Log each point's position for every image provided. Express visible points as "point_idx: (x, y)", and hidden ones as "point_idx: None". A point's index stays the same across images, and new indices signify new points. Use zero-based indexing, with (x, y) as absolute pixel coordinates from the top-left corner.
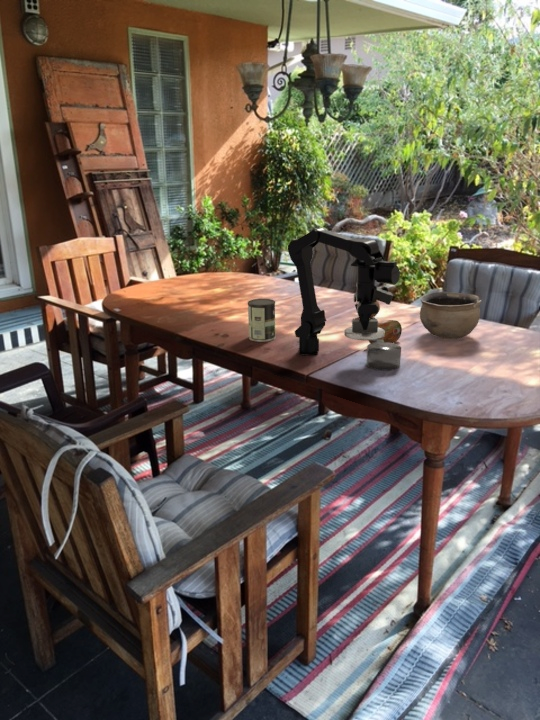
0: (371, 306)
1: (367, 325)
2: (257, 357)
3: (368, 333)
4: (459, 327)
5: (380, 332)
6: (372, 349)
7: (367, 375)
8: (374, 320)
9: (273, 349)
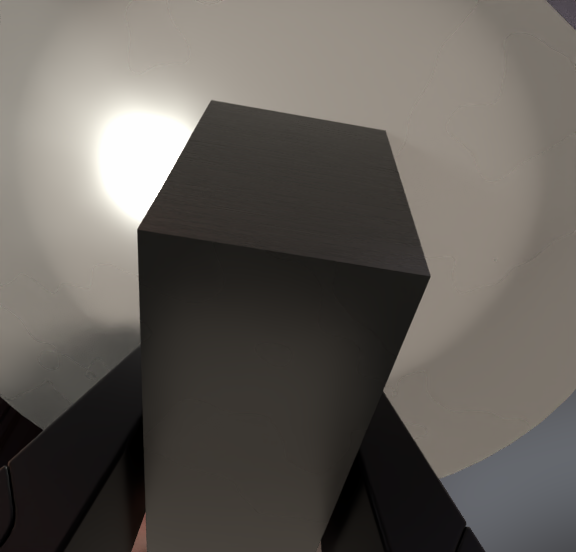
0: None
1: (398, 425)
2: (135, 544)
3: (423, 306)
4: None
5: (438, 70)
6: None
7: None
8: (260, 330)
9: None
